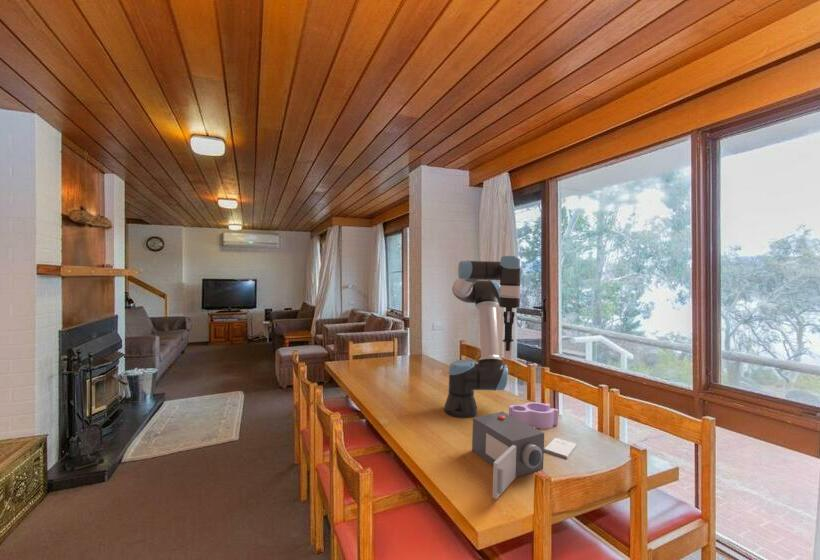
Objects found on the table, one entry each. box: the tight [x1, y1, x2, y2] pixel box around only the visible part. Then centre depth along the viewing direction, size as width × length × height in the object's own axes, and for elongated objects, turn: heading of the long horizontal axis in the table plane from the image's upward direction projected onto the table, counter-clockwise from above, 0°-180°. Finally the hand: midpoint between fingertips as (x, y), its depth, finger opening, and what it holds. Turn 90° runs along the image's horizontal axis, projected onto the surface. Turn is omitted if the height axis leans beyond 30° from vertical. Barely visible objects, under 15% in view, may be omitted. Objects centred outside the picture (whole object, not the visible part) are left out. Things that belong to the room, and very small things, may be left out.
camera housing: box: [471, 411, 545, 479], centre depth 125 cm, size 23×14×13 cm, turn 28°
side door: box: [492, 445, 516, 500], centre depth 107 cm, size 14×2×10 cm, turn 142°
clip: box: [508, 401, 559, 430], centre depth 157 cm, size 20×12×7 cm, turn 100°
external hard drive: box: [544, 437, 578, 460], centre depth 135 cm, size 2×8×12 cm
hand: (507, 358), depth 138 cm, fingers closed
